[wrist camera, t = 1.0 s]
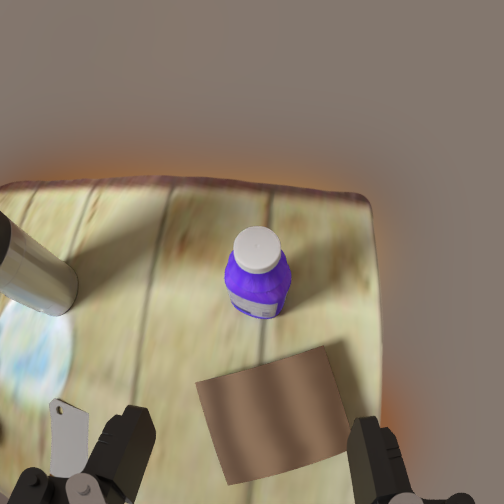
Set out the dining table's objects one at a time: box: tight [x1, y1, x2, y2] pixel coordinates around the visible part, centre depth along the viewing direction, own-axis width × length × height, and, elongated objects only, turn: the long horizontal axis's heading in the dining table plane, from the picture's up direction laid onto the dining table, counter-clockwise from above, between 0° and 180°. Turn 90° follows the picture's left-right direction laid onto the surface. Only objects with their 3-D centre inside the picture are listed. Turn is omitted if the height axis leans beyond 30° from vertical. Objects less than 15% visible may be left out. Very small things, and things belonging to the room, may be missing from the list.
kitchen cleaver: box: [49, 399, 89, 478], centre depth 30 cm, size 24×1×10 cm
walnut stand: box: [195, 346, 351, 485], centre depth 33 cm, size 16×14×4 cm
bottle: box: [224, 226, 291, 319], centre depth 33 cm, size 7×6×17 cm
